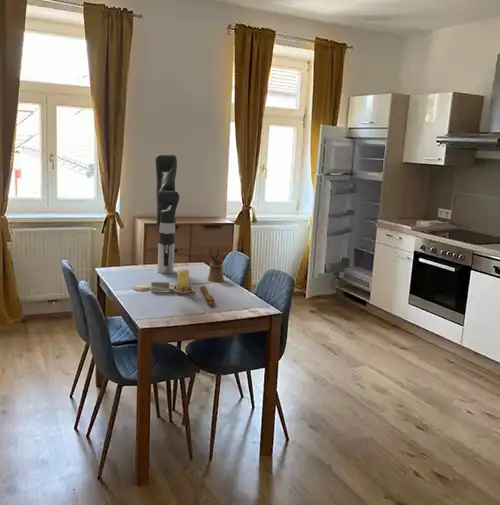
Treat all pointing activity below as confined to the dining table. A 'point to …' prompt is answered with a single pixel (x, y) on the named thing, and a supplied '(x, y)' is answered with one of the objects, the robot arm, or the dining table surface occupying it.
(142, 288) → the coaster
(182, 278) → the cylinder with side tabs
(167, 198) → the robot arm
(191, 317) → the dining table surface
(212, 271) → the wooden mug
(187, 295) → the stand base
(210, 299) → the tap handle
